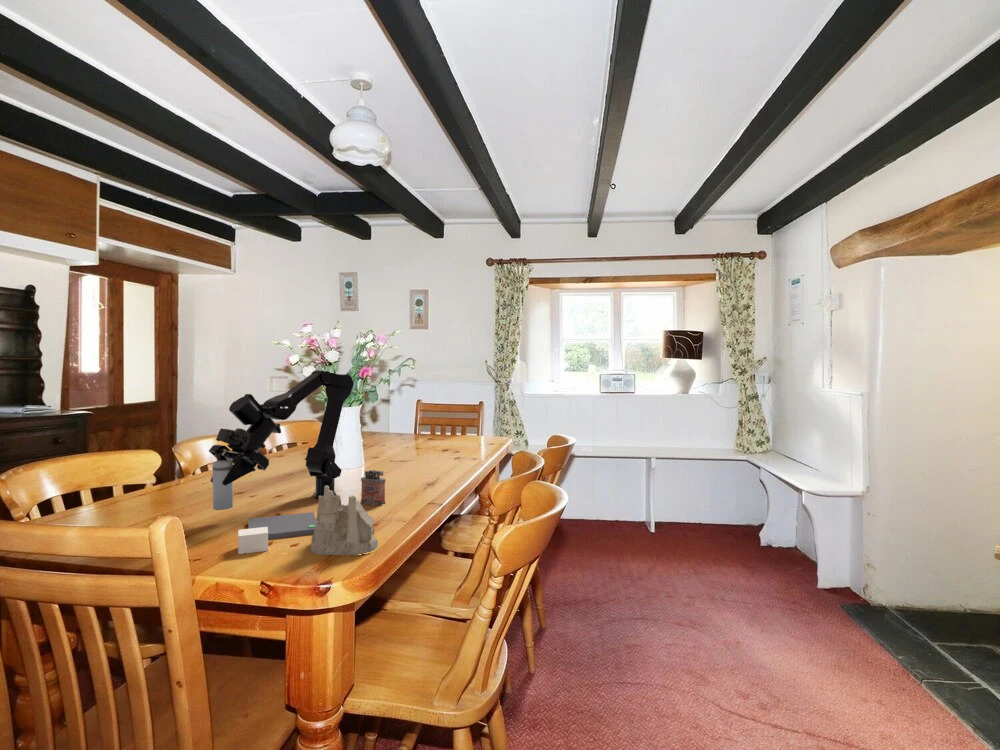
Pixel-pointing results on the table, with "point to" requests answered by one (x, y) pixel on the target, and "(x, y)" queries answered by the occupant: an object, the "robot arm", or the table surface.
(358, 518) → the stone castle ruin
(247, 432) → the robot arm
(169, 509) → the table surface
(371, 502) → the lighter
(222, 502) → the grey cylinder
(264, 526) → the charging mat
